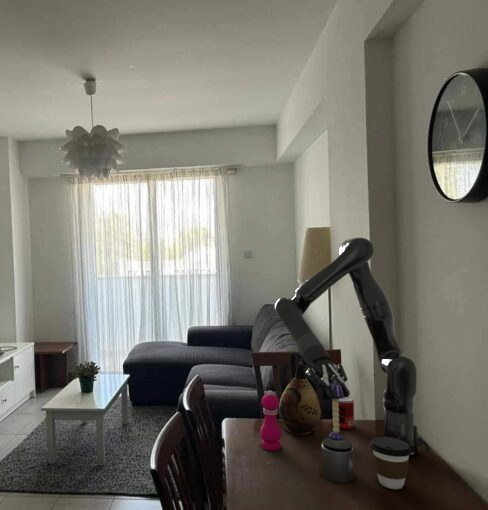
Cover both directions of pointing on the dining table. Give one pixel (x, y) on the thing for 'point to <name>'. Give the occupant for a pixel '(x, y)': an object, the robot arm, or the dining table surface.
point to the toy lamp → (336, 412)
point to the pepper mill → (270, 423)
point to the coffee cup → (391, 461)
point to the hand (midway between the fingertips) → (340, 397)
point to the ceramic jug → (299, 400)
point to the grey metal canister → (337, 460)
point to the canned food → (346, 413)
